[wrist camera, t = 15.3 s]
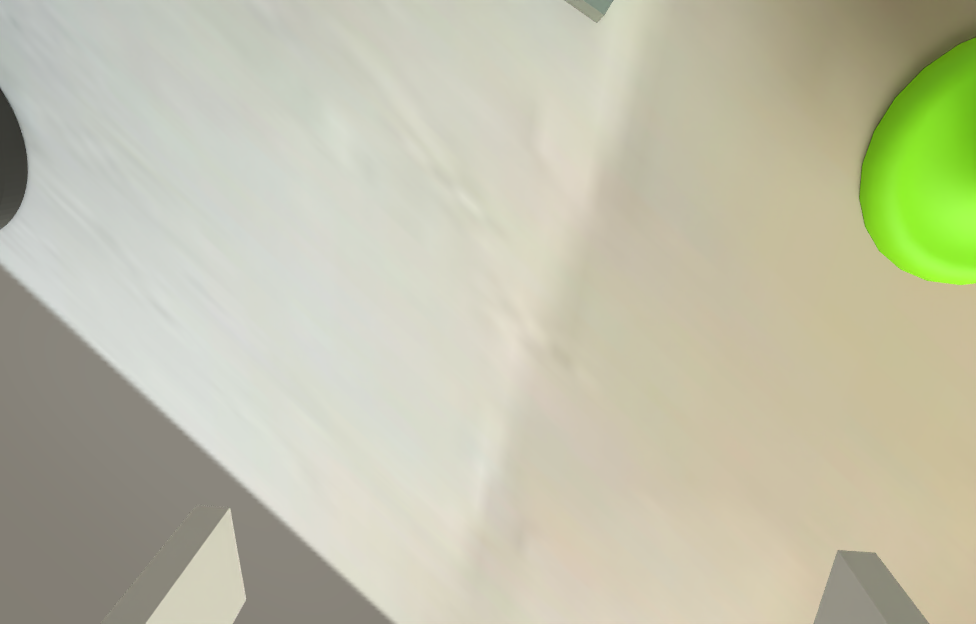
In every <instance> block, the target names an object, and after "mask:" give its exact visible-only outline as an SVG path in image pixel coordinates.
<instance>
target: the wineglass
mask: <svg viewBox="0 0 976 624" xmlns="http://www.w3.org/2000/svg"><path fill="white" fill-rule="evenodd" d="M859 199H860V204H861V208H862V213H863V218H864V223H865V227H866V229H867V231H868V232H869V234H870V236H871V238H872V239H873V241H874V243H875V244H876V246H877V248H878V250H879V251H880V252H881V253H882V254H883V255H884V256H886V257H887V258H888V259H889V260H890V261H891V262H893V263H894V264H895V265H896V266H897V267H898V268H899V269H901V270H903V271H905V272H908V273H910V274H913V275H915V276H917V277H920V278H922V279H924V280H927V281H933V282H941V283H949V284H957V285H964V284H973V283H976V37H975V38H973V39H971V40H968V41H966V42H963V43H961V44H959V45H957V46H956V47H954V48H953V49H951V50H950V51H949V52H947V53H946V54H944V55H943V56H941V57H940V58H938V59H937V60H935V61H934V62H932V63H931V64H930V65H928V66H927V67H925V68H924V69H923V70H922V71H921V72H920V73H919V74H918V75H917V76H916V77H915V78H914V79H913V80H912V81H911V82H910V83H909V84H908V85H907V86H906V87H905V88H904V89H903V90H902V92H901V93H900V94H899V95H898V96H897V97H896V98H895V99H894V101H893V102H892V104H891V105H890V107H889V109H888V110H887V112H886V113H885V115H884V116H883V118H882V120H881V121H880V123H879V124H878V126H877V128H876V129H875V131H874V133H873V136H872V139H871V142H870V144H869V147H868V150H867V153H866V156H865V159H864V161H863V164H862V172H861V184H860V196H859Z"/></svg>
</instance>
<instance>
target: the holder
mask: <svg viewBox="0 0 976 624" xmlns="http://www.w3.org/2000/svg"><path fill="white" fill-rule="evenodd" d="M565 1H566V2H568V3H569V4H571V5H572V6H573V7H575V8H576V9H578V10H579V11H581V12H582V13H583V14H585V15H586V16H588V17H589V18H591V19H592V20H593V21H595V22H596V23H597V22H598V21H599V20H600V19H601V18H602V17H603V16H604V15H605V13H606V11H607V10H608V8H609V7H610V5H611V3H612V2H613V0H565Z"/></svg>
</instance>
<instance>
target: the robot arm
mask: <svg viewBox="0 0 976 624" xmlns="http://www.w3.org/2000/svg"><path fill="white" fill-rule="evenodd" d="M27 173H28V171H27V156H26V149H25V145H24V140H23V137H22V133H21V130H20V128H19V125H18V122H17V120H16V117H15V115H14V113H13V111H12V109H11V107H10V105H9V103H8V102H7V100H6V98H5V96H4V95H3V93H2V92H1V90H0V229H2V228H3V227H4V226H5V225H6V224H7V223H8V222H9V221H10V220H11V219H12V218H13V217H14V215H15V214H16V212H17V210H18V209H19V207H20V205H21V202H22V200H23V197H24V194H25V189H26V184H27ZM245 601H246V596H245V590H244V585H243V579H242V573H241V568H240V563H239V556H238V551H237V545H236V540H235V534H234V528H233V522H232V517H231V511H230V507H218V506H203V505H196V506H195V508H194V509H193V510H192V511H191V513H190V514H189V515H188V516H187V517H186V519H185V520H184V521H183V522H182V524H181V525H180V526H179V527H178V528H177V530H176V531H175V532H174V534H173V535H172V536H171V537H170V538H169V540H168V541H167V542H166V543H165V545H164V546H163V547H162V548H161V549H160V551H159V552H158V553H157V554H156V556H155V557H154V558H153V559H152V561H151V562H150V563H149V564H148V566H147V567H146V568H145V569H144V570H143V572H142V573H141V574H140V575H139V576H138V578H137V579H136V580H135V581H134V583H133V584H132V585H131V586H130V588H129V589H128V590H127V591H126V592H125V594H124V595H123V596H122V598H121V599H120V600H119V601H118V602H117V604H116V605H115V606H114V607H113V609H112V610H111V611H110V612H109V613H108V615H107V616H106V617H105V618H104V620H103V621H102V622H101V623H100V624H233V622H234V620H235V618H236V617H237V615H238V613H239V611H240V609H241V608H242V606H243V604H244V602H245ZM814 624H929V623H928V621H927V620H926V619H925V617H924V616H923V615H922V613H921V612H920V611H919V609H918V608H917V607H916V605H915V604H914V603H913V602H912V600H911V599H910V598H909V596H908V595H907V594H906V592H905V591H904V590H903V588H902V587H901V586H900V584H899V583H898V582H897V581H896V579H895V578H894V577H893V575H892V574H891V573H890V571H889V570H888V569H887V567H886V566H885V565H884V563H883V562H882V561H881V559H880V558H879V557H878V556H877V554H876V553H871V552H857V551H843V550H838V551H837V554H836V557H835V560H834V563H833V566H832V569H831V572H830V575H829V578H828V581H827V584H826V587H825V590H824V593H823V596H822V599H821V602H820V605H819V609H818V612H817V615H816V618H815V621H814Z"/></svg>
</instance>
